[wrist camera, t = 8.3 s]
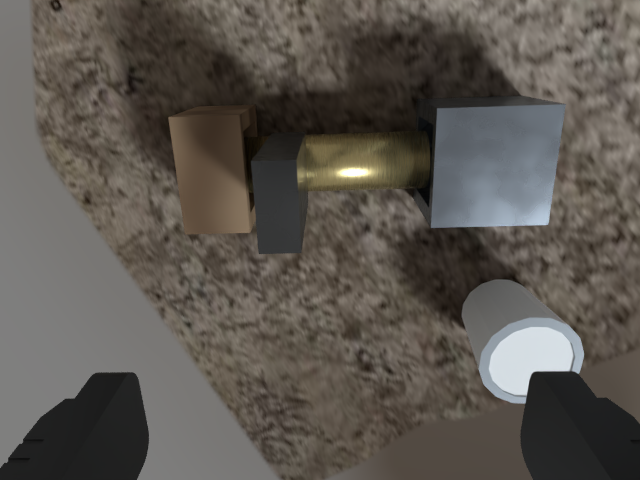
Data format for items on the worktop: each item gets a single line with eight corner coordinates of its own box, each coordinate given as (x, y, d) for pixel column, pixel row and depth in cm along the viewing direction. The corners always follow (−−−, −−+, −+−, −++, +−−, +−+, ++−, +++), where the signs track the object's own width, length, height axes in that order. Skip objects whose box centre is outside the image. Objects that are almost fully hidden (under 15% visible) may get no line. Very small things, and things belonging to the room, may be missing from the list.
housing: (521, 95, 32) (565, 104, 26) (510, 195, 35) (548, 224, 29) (417, 99, 32) (437, 108, 26) (413, 198, 35) (430, 227, 29)
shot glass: (518, 256, 36) (560, 299, 30) (554, 322, 38) (600, 377, 32) (438, 298, 38) (461, 349, 31) (476, 360, 40) (506, 420, 33)
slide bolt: (420, 121, 31) (469, 154, 21) (418, 186, 33) (462, 249, 22) (225, 127, 32) (171, 163, 21) (231, 191, 33) (185, 255, 22)
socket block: (255, 104, 33) (239, 115, 27) (263, 202, 35) (249, 232, 29) (197, 106, 33) (168, 117, 27) (209, 204, 35) (185, 234, 29)
